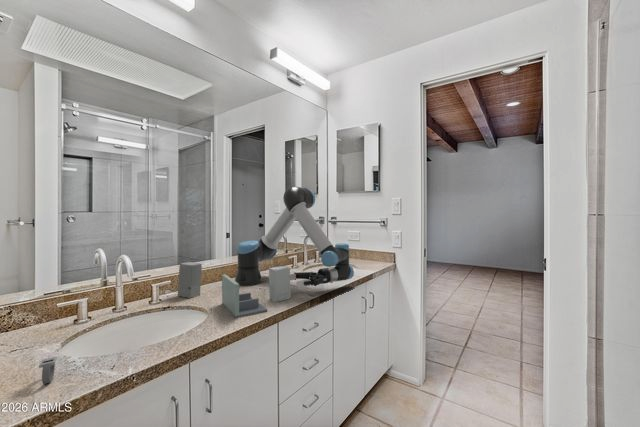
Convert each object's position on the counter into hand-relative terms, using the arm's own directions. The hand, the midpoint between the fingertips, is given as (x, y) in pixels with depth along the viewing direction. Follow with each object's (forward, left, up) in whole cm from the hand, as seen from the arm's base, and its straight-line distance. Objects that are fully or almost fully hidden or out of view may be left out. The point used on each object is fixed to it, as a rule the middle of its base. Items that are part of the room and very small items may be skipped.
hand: (290, 281), depth 132 cm
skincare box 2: (-1, -5, -8) cm, 10 cm away
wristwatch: (+27, -78, -8) cm, 83 cm away
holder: (+1, -22, -8) cm, 24 cm away
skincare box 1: (-30, -39, -8) cm, 50 cm away
